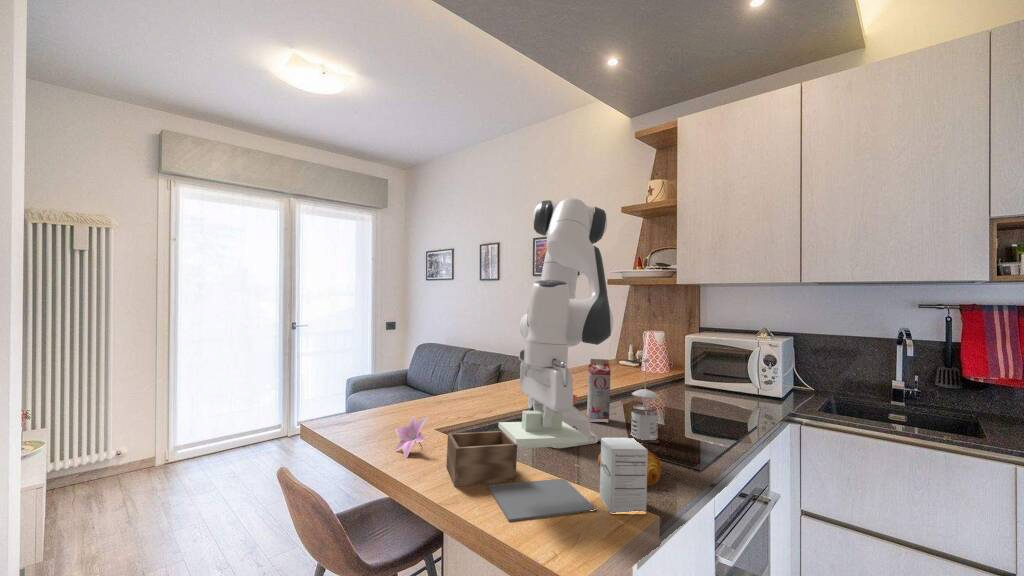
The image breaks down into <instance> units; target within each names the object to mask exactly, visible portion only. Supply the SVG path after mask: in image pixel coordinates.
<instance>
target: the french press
mask: <svg viewBox="0 0 1024 576" xmlns="http://www.w3.org/2000/svg"><path fill="white" fill-rule="evenodd" d="M649 362H650V360H649V358H643V359H642V363H645V366H644V367H645V368H644V371H645V372H644V388H643V389H637V390H634V391H633V392H631V395H632V396H634V397H636V398H640V399H642V403H643V404H635V405H633V406H632V408H633V410H631V423H630V424H631V425H630V427H631V428H630V429H631V430H630V431H631V432H630V435H632V436H633V437H635V438H637V439H641V440H656V439H657V438H659V437H658V436H659V435H658V434H659V433H658V431H659V427H658V426H659V424H658V423H659V414H658V412H656V411H657V410H658V409H657V408H656V407H655V406H651V405H649V404H648V405H646V402H647V403H649V402H650V400H651V399H653V400H655V399H658V398H659V397H660V396H659V395H658V393H656V392H655V391H652V390H649V389H647V387H646V380H647V363H649ZM645 412H646V415H645Z"/></svg>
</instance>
